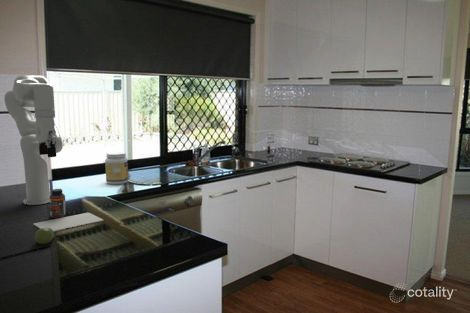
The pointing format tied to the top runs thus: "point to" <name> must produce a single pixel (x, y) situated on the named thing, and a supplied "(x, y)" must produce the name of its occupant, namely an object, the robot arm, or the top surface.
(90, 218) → the mat
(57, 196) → the supplement bottle
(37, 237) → the pear
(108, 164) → the supplement tub
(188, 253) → the top surface
